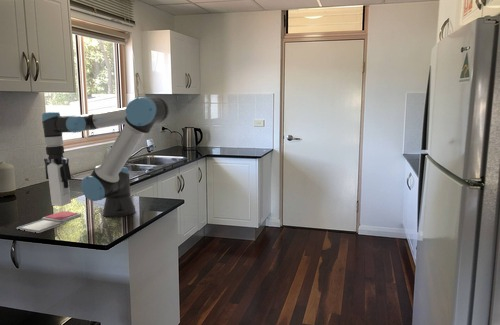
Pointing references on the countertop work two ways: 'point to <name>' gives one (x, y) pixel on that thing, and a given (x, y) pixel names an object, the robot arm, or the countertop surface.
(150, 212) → the countertop surface
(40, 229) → the marked square
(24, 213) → the countertop surface
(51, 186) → the milk
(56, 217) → the ink pad
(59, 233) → the countertop surface
